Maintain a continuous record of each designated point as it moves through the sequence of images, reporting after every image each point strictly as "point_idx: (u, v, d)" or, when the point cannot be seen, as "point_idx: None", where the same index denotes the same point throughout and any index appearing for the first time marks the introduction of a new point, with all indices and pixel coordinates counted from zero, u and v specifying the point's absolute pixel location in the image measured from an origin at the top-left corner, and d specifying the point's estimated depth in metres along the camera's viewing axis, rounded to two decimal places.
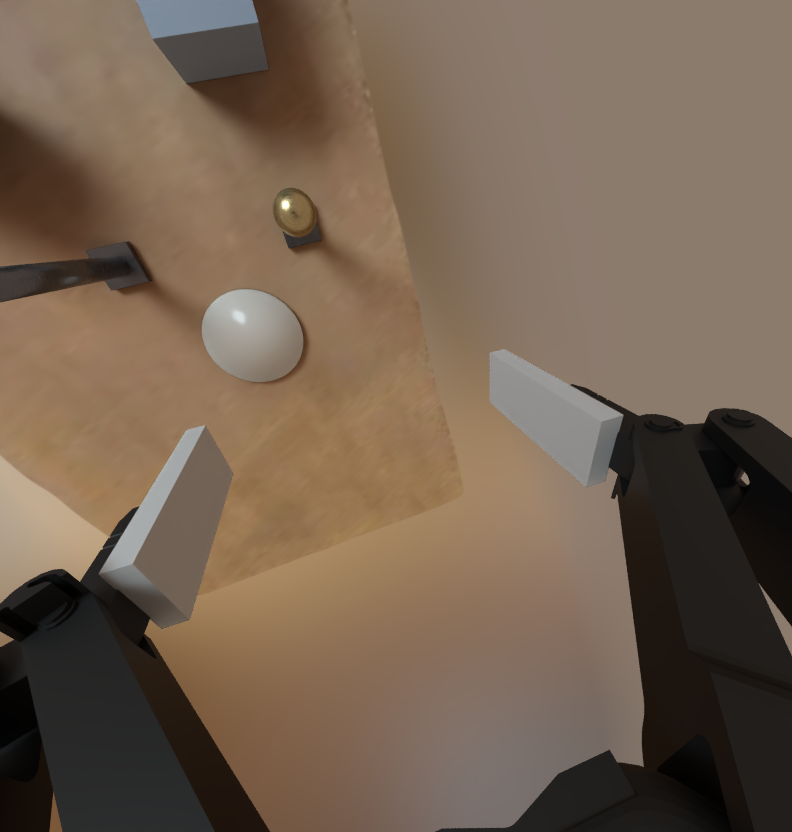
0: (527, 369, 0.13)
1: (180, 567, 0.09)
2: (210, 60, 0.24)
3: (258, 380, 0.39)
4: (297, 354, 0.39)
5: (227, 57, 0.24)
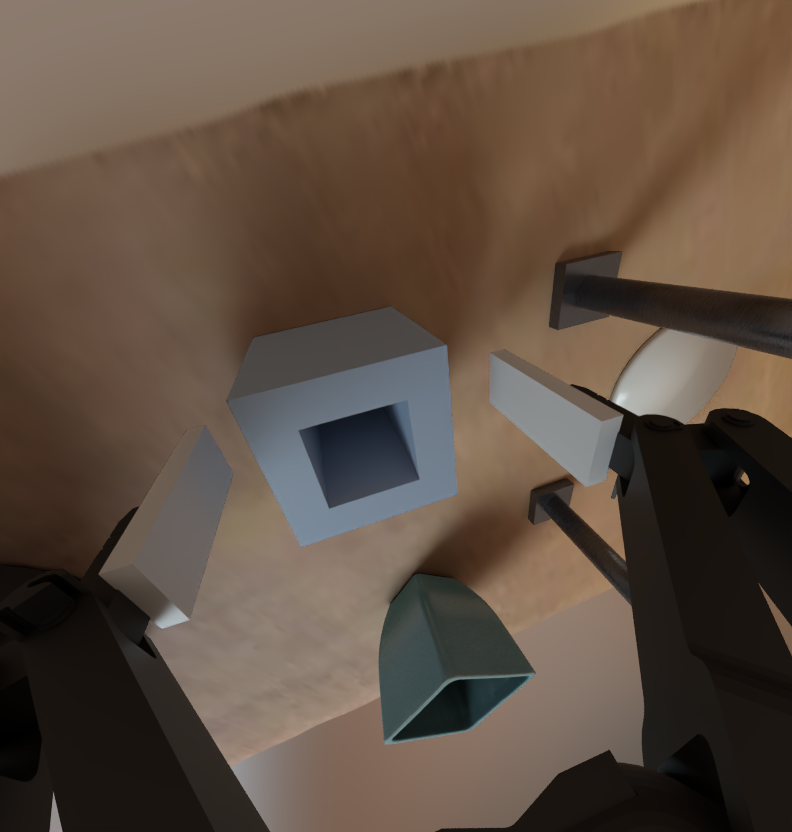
0: (527, 369, 0.13)
1: (180, 567, 0.09)
2: None
3: (716, 388, 0.26)
4: None
5: None
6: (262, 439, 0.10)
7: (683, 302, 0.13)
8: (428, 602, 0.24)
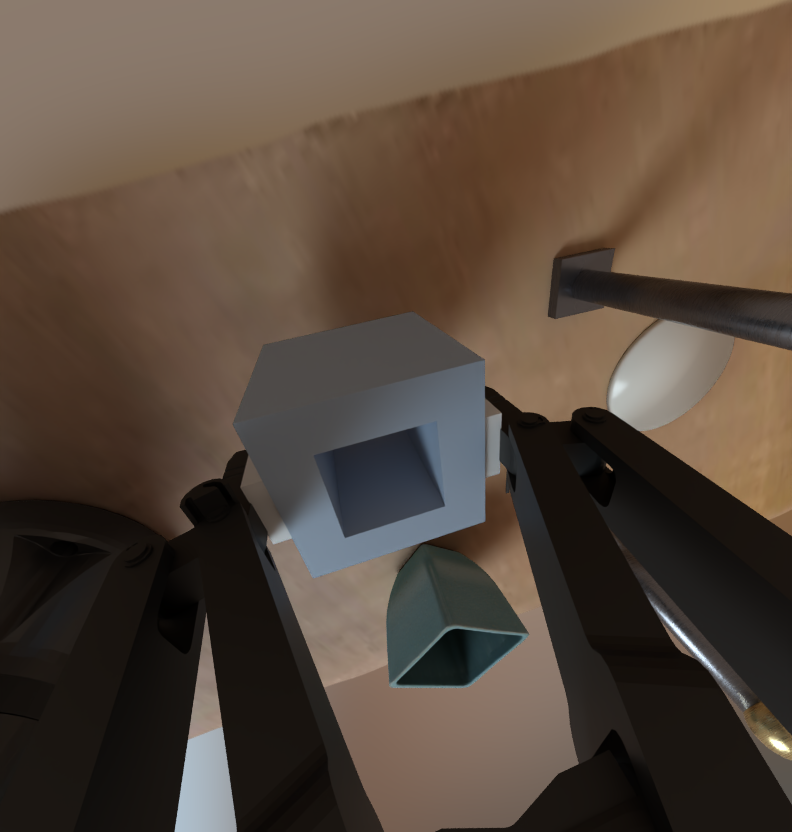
0: None
1: None
2: None
3: (715, 379, 0.27)
4: None
5: None
6: (273, 465, 0.09)
7: (657, 291, 0.15)
8: (432, 566, 0.26)
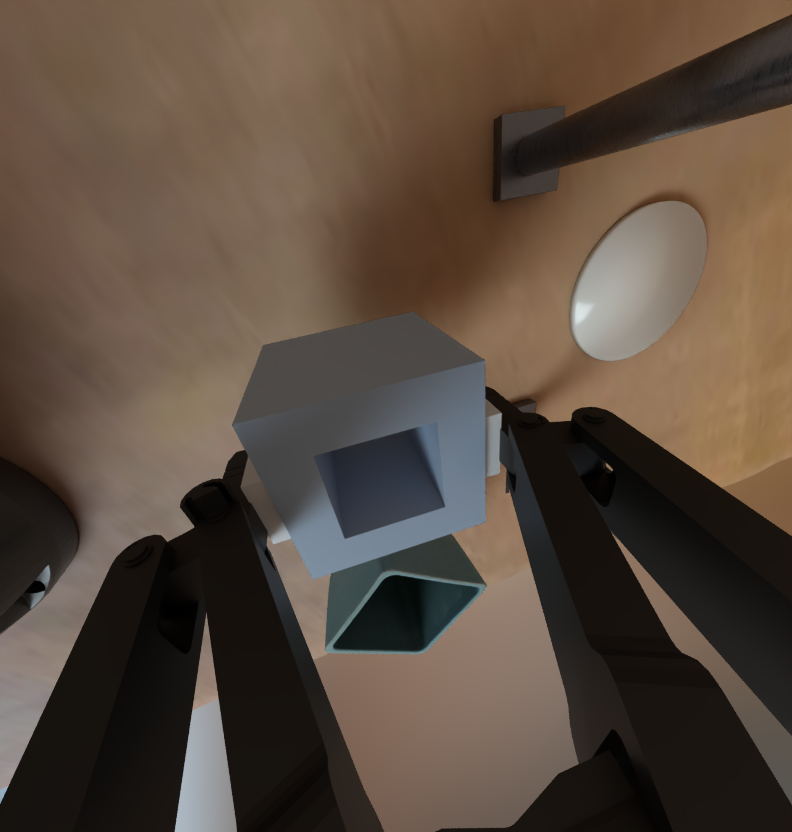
0: None
1: None
2: None
3: (687, 300, 0.25)
4: (694, 220, 0.21)
5: None
6: (272, 466, 0.09)
7: (607, 107, 0.12)
8: None
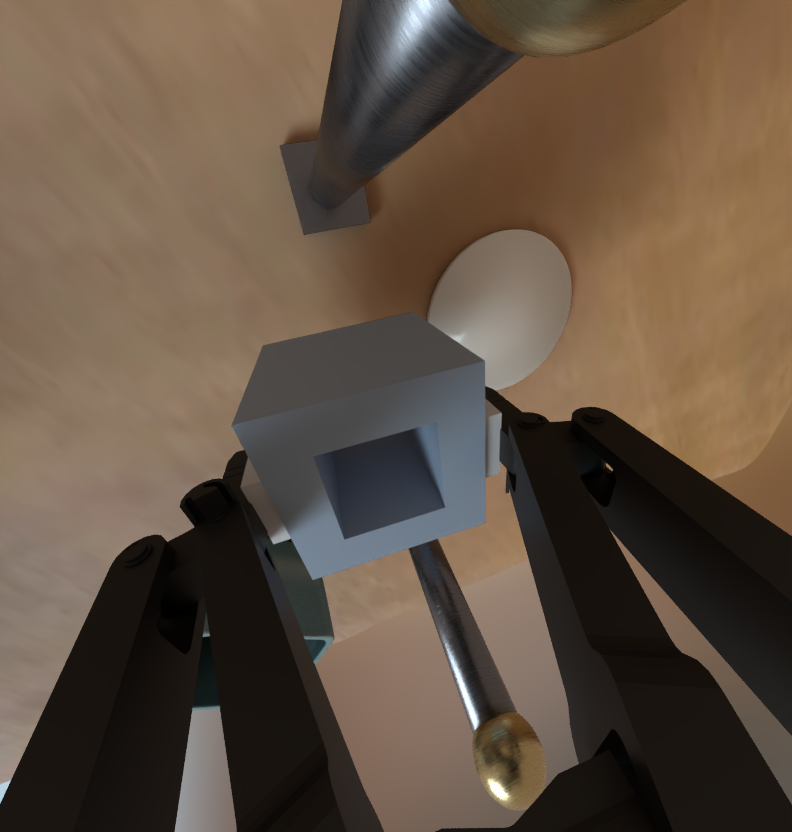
0: None
1: None
2: None
3: (561, 328, 0.23)
4: (547, 248, 0.20)
5: None
6: (272, 467, 0.09)
7: None
8: None
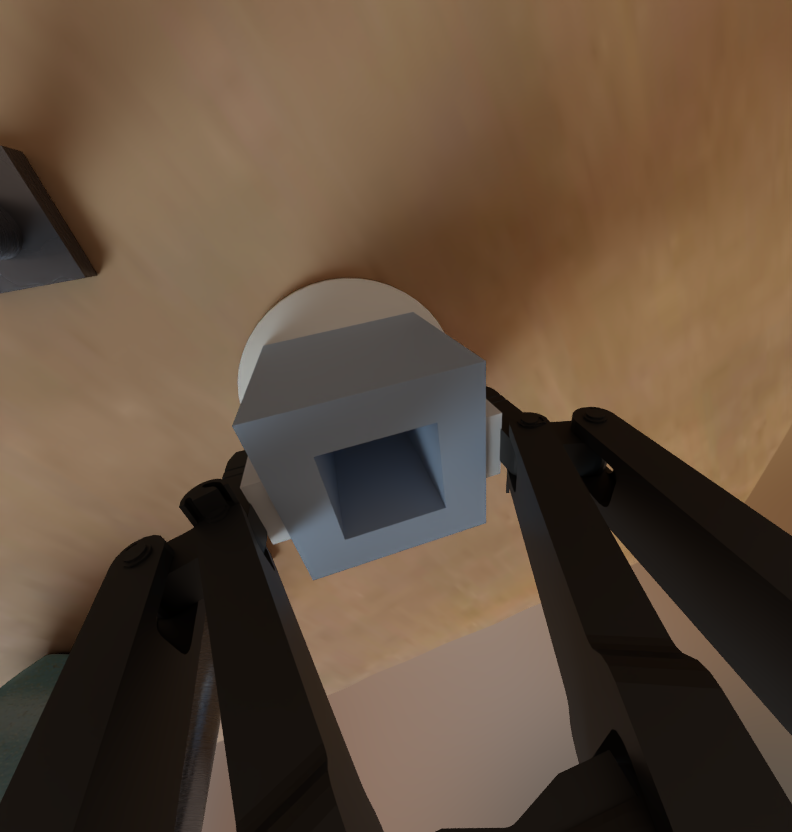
0: None
1: None
2: None
3: None
4: (402, 302, 0.14)
5: None
6: (272, 467, 0.09)
7: None
8: None
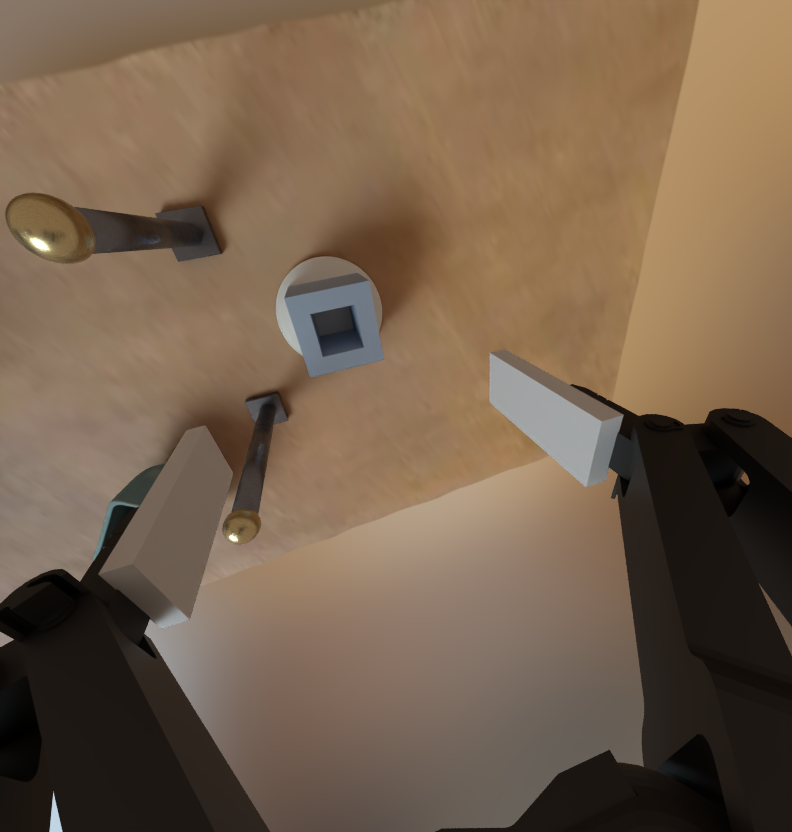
0: (527, 369, 0.13)
1: (180, 567, 0.09)
2: None
3: (379, 320, 0.34)
4: (351, 268, 0.31)
5: None
6: (296, 317, 0.26)
7: None
8: (145, 471, 0.33)
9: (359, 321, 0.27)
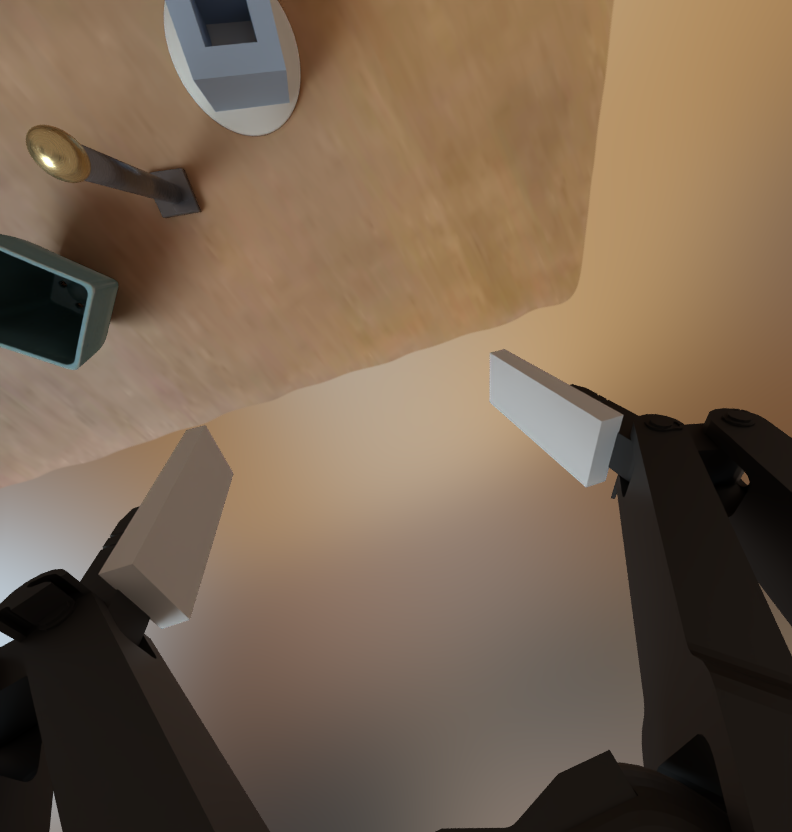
0: (527, 369, 0.13)
1: (180, 567, 0.09)
2: None
3: (297, 75, 0.29)
4: None
5: None
6: None
7: None
8: (17, 238, 0.28)
9: None
